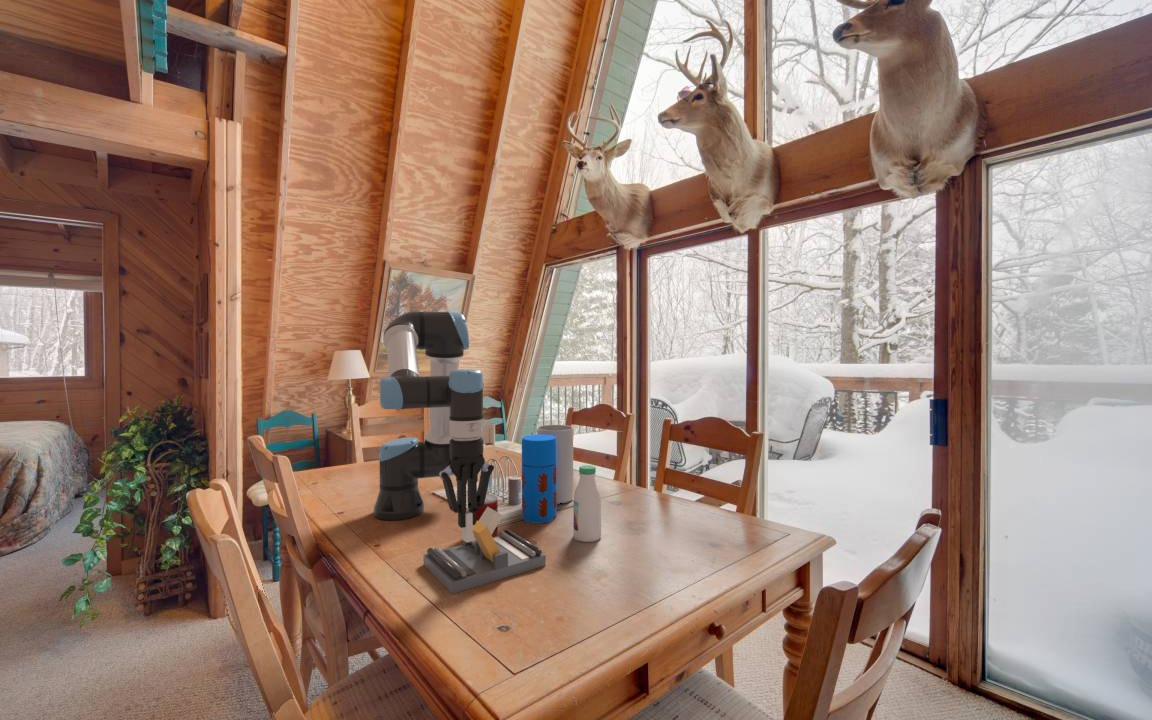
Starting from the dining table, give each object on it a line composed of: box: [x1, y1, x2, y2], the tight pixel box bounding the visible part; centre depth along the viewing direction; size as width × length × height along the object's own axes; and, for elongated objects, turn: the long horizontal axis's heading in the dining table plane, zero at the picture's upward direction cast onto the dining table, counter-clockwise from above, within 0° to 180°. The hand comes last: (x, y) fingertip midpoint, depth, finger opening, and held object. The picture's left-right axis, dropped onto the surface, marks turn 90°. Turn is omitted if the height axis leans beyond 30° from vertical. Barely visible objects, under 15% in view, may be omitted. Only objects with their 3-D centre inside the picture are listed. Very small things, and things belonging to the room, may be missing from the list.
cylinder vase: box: [536, 424, 574, 505], centre depth 176 cm, size 12×12×25 cm
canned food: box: [476, 493, 499, 537], centre depth 143 cm, size 8×8×11 cm
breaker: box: [469, 507, 504, 547], centre depth 130 cm, size 5×2×10 cm
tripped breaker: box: [473, 521, 500, 562], centre depth 119 cm, size 5×2×10 cm, turn 36°
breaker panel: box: [423, 528, 547, 595], centre depth 125 cm, size 18×24×6 cm
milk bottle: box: [573, 464, 602, 543], centre depth 142 cm, size 8×8×20 cm
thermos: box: [521, 434, 558, 524], centre depth 158 cm, size 11×11×25 cm
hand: (467, 539), depth 116 cm, fingers closed
